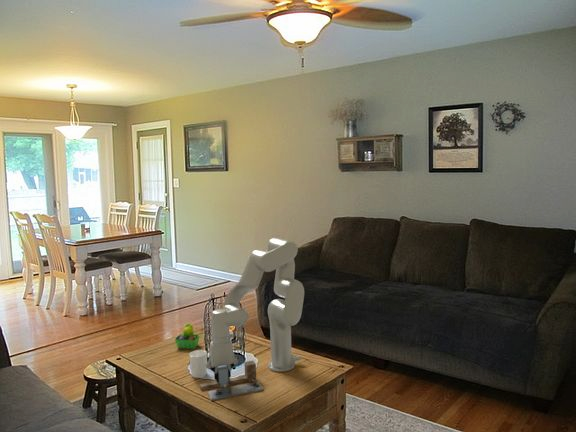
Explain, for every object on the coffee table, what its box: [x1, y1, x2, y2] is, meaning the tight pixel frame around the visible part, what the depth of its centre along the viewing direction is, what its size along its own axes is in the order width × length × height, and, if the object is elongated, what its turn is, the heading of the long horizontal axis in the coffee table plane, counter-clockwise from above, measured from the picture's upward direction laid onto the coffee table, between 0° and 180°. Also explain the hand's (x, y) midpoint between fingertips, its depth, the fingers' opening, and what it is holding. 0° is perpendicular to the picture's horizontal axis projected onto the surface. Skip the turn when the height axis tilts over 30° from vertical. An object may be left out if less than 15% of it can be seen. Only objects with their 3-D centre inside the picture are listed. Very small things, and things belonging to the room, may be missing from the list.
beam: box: [199, 360, 257, 391], centre depth 204 cm, size 24×7×8 cm, turn 111°
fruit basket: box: [174, 322, 201, 350], centre depth 248 cm, size 11×9×11 cm
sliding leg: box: [218, 365, 229, 388], centre depth 203 cm, size 4×7×7 cm, turn 21°
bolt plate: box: [207, 381, 265, 402], centre depth 197 cm, size 22×7×1 cm, turn 111°
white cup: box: [188, 349, 208, 379], centre depth 214 cm, size 8×8×10 cm
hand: (222, 379), depth 204 cm, fingers closed on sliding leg, 4 cm apart
